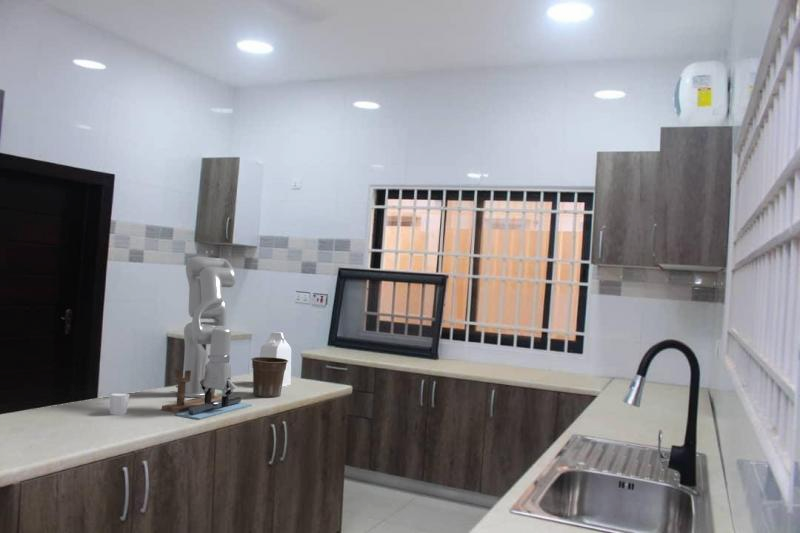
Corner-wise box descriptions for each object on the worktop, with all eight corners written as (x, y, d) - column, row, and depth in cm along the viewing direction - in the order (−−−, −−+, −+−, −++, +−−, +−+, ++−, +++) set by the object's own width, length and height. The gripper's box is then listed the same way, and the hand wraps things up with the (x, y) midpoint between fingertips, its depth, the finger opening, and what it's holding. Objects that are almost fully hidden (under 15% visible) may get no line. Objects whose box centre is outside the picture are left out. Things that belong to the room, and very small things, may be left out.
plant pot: (289, 393, 292) (292, 358, 292) (279, 400, 276) (282, 363, 276) (255, 390, 293) (258, 355, 294) (243, 396, 277) (246, 360, 278)
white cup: (106, 415, 228) (107, 395, 228) (109, 411, 235) (111, 392, 235) (126, 415, 230) (128, 396, 230) (129, 411, 237) (130, 392, 237)
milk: (290, 385, 312) (294, 333, 313) (274, 388, 302) (278, 334, 303) (272, 382, 318) (276, 330, 319) (256, 384, 309) (260, 331, 309)
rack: (161, 409, 243) (164, 370, 243) (209, 398, 268) (212, 362, 269) (180, 413, 239) (183, 372, 239) (226, 401, 265) (229, 365, 265)
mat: (175, 415, 235) (175, 413, 235) (229, 402, 264) (229, 400, 264) (199, 419, 231) (199, 418, 231) (251, 405, 260) (251, 404, 260)
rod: (194, 415, 234) (194, 407, 234) (187, 414, 235) (188, 406, 235) (240, 403, 260) (241, 396, 260) (234, 402, 261) (235, 395, 261)
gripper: (195, 357, 248) (191, 403, 247) (231, 363, 241) (228, 409, 241) (207, 356, 255) (204, 400, 254) (243, 361, 248) (240, 406, 248)
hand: (216, 404), depth 248 cm, fingers open, 7 cm apart
